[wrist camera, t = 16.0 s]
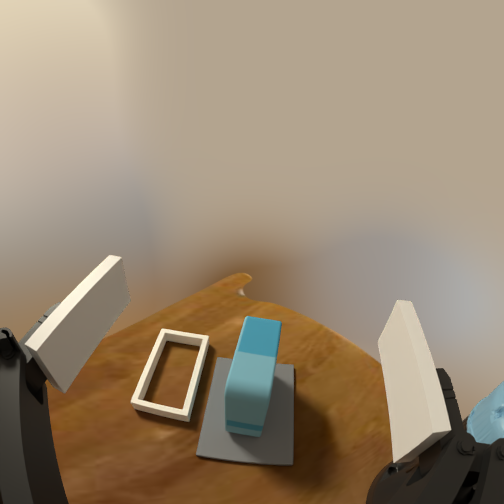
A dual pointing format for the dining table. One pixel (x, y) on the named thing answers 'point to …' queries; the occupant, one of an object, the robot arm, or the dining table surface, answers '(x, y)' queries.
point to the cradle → (150, 368)
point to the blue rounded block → (251, 376)
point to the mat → (244, 446)
